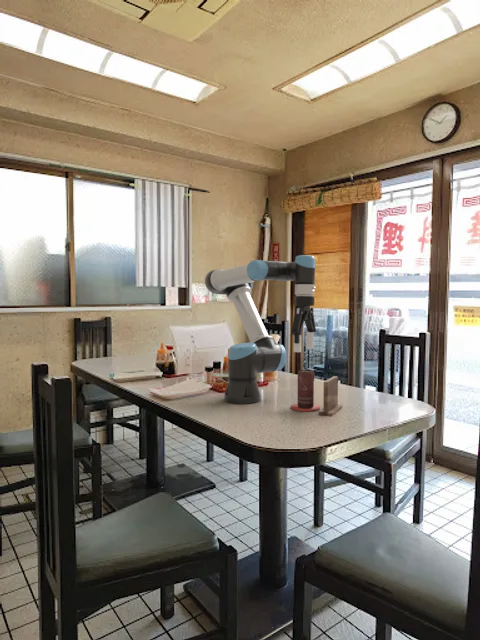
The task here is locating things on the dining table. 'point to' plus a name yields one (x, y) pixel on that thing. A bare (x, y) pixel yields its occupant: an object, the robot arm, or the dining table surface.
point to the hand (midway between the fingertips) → (303, 350)
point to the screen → (330, 397)
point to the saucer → (315, 408)
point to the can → (305, 389)
